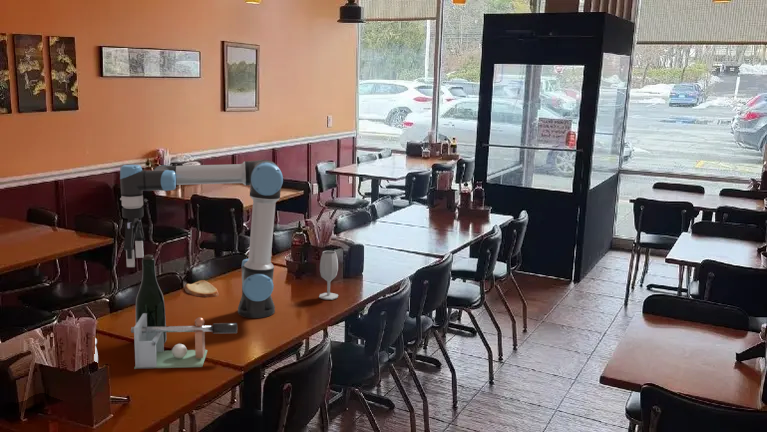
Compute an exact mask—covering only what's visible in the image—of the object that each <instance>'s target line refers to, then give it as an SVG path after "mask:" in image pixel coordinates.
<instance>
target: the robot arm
mask: <svg viewBox="0 0 767 432" xmlns="http://www.w3.org/2000/svg"><path fill="white" fill-rule="evenodd" d="M281 170H282V169H280V168H279V166H278V164H276V162H274V161H272V160H270V159H258V160H250V161H249V160H248V161H243V162H242V163H237V164H233V163H231V164H198V165H190V164H189V165H169V166H168V165H166V164H162V165H159V166H157V167H155V168H154V170H143V168H142V165H139V164H124V165H122V166H121V167H120V171H119V182H120V183H119V184H120V196H121V197H120V198H119V200H120V201H121V206H122V208H121V215H122V218H124V219H127V222H125V223H124V228H125V230H124V244H123V245H124V246H123V248H122V249H123V251H125V257H126V268H135V267H136V261H135V259H139V258H140V259H141V258H142V259H143V256H144V255H145V254H144V241H146V237H145V232H144V229H143V224H142V218H143V217H144V214H145V213H144V195H143V191H145V192H146V191H149V192H150V191H151V192H152V191H153V192H154V191H156V192H157V191H158V192H160V191H161V192H162V191H163V192H167V191H174V190H176V189H177V188H176V186H181V185H182V186H185V185H188V186H189V185H190V186H191V185H217V184H218V185H219V184H220V185H221V184H223V185H224V184H225V185H226V184H243V185H244V186H250V187H249V197H250V198H251V200H252V210H251V211H252V212H251V223H250V224H251V225H250V235H249V236H250V237H249V248H248V249H249V250H248V258H245V259H243V260H242V261H241V297H240V300H239V304H238V307H237V313H238V315H239V316H241V317H242V318H249V319H261V318H262V319H263V318H267V317H269V316H273V315H274V314H275V312H276V311H275V309H276V307H275V303H274V300H273V298H272V293H273V291H274V286H275V285H274V274H275V273H274V271H275V266H274V264H273V263H272V262H271V261H272V248H273V238H274V236H273V235H274V225H275V213H276V205H277V204H276V203H277V202H278V201H279V200H280V199H281V191H282V186H283V183H284V177H283V176H284V175H283V173H282V171H281ZM134 245H135V248H134Z"/></svg>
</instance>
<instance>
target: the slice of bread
mask: <svg viewBox="0 0 767 432" xmlns="http://www.w3.org/2000/svg"><path fill="white" fill-rule="evenodd" d="M184 290H185V292H186V293H187V294H189V295H192V296H195V297H200V298H216V297H219V296H220V293H219V290H218V289H217V287H215V285H213V284H212V283H210V282H208V281H206V280H205V279H203V280H202V279H201V280H198V281H195V282H193V283H186V284H185V286H184Z"/></svg>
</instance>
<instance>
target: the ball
mask: <svg viewBox="0 0 767 432" xmlns="http://www.w3.org/2000/svg"><path fill="white" fill-rule="evenodd" d="M171 350H172V354H173V356H174V357H175V358H178V359H180V358H183V357H184V356H185V355H186V353H187V350H188V349H187V347H186V345H185V344H182V343H177V344H175V345H174V346H173V347H172V348H171Z"/></svg>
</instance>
